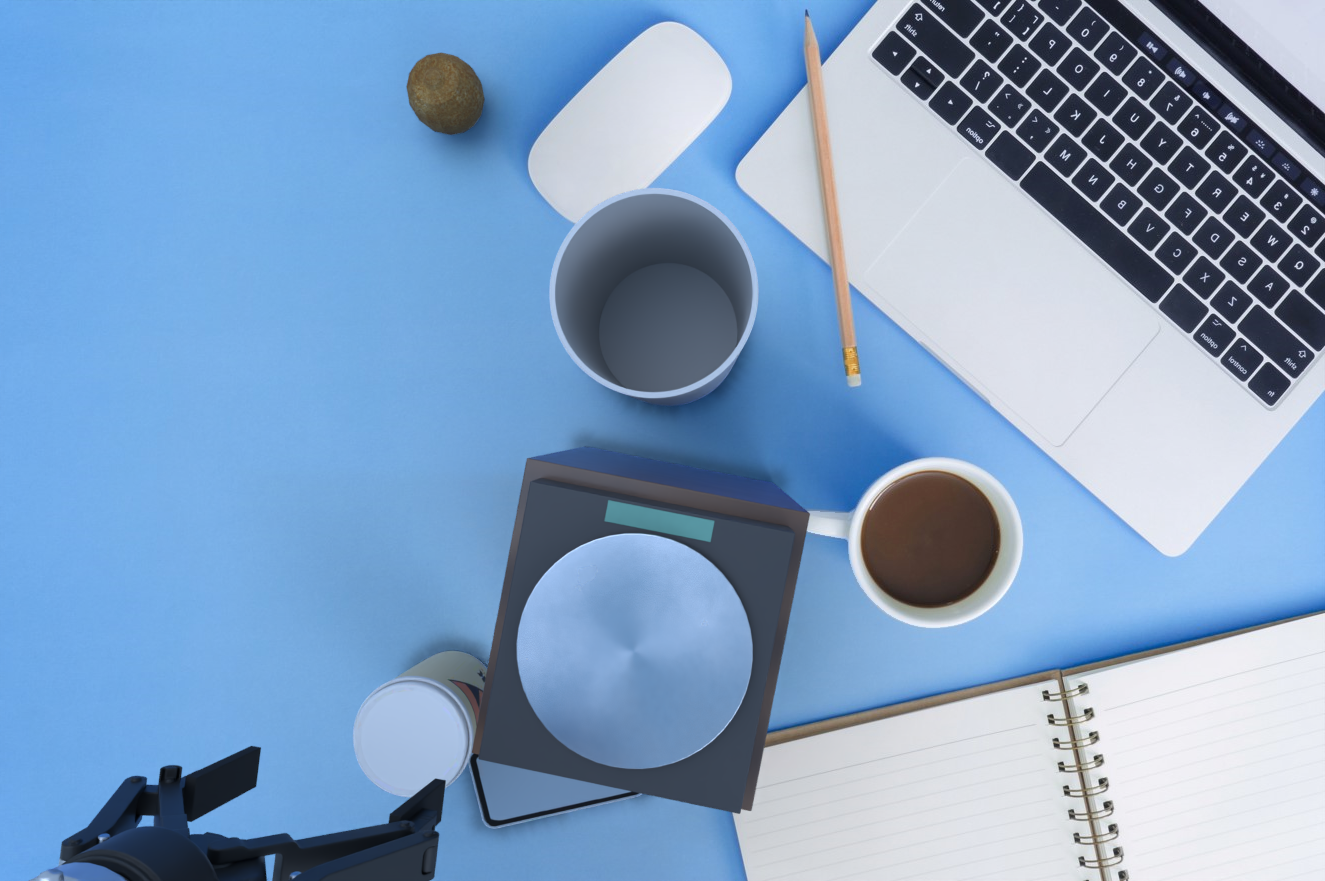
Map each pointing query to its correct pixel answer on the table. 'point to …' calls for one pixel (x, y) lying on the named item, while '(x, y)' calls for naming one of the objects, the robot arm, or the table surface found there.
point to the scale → (730, 542)
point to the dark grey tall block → (672, 488)
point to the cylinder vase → (654, 295)
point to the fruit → (445, 93)
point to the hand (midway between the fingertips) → (344, 782)
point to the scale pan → (634, 650)
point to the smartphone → (532, 793)
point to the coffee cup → (421, 724)
